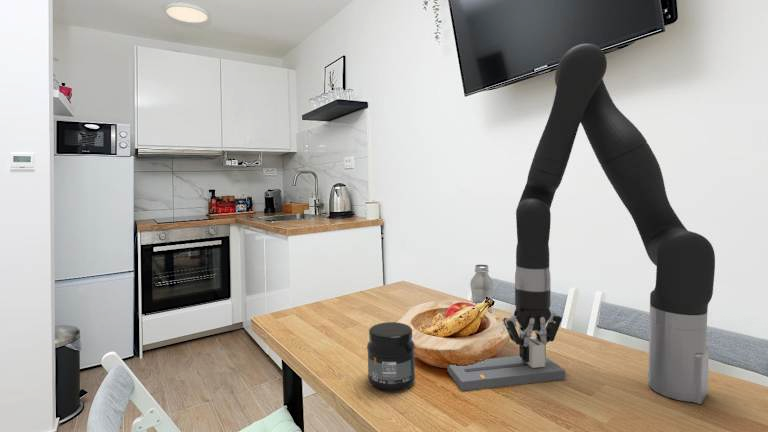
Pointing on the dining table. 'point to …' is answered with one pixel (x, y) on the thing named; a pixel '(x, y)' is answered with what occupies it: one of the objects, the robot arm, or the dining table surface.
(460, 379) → the slider board
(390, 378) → the supplement container
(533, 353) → the block
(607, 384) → the dining table surface
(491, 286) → the plastic bottle
